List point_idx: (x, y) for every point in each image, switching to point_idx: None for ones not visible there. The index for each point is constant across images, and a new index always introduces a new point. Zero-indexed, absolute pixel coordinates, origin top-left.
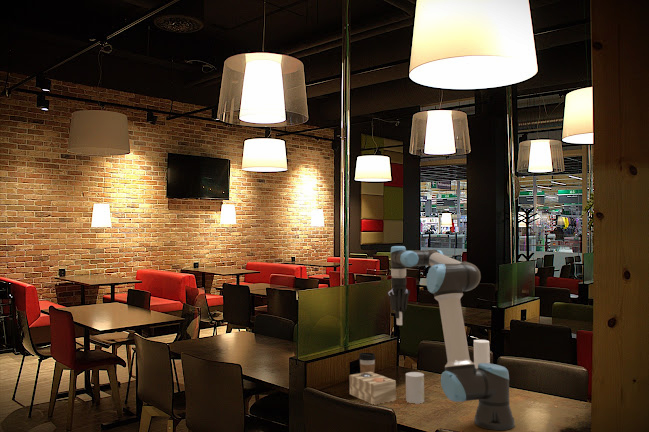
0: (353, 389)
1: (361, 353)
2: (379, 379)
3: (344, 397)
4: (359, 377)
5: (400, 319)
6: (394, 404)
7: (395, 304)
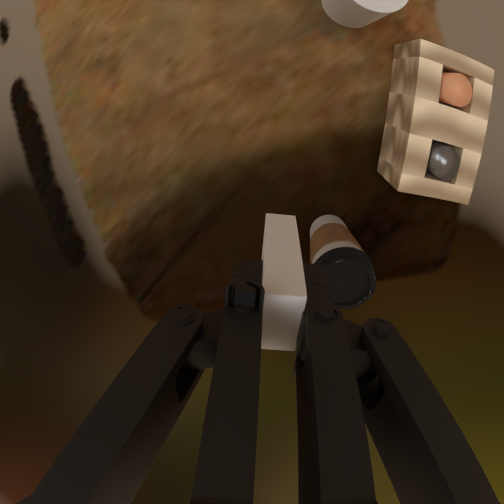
0: None
1: (351, 304)
2: (460, 83)
3: None
4: (472, 159)
5: (291, 241)
6: (418, 29)
7: (406, 395)
